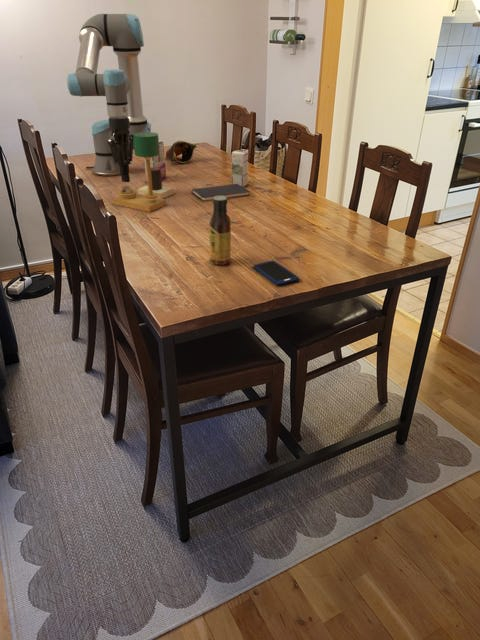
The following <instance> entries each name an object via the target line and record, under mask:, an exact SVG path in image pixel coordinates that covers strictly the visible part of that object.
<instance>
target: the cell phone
mask: <svg viewBox="0 0 480 640" xmlns="http://www.w3.org/2000/svg"><path fill="white" fill-rule="evenodd" d="M252 267H253V269H254V270H256V271H257V272H259V273H260V274H261V275H262V276H264V277H265V278H266V279H268V280H269V281H270V282H272V283H274V284H275V285H276V286H284V285H287V284H291V283H294V282H295V283H296V282H298V281H300V277H299V276H297V275H296V274H295V273H293V272H291V271H290V270H289V269H287V268H286V267H284V266H283V265H281V264H279V263H278V262H277V261H275V260H269V261H264V262H260V263H256V264H253V266H252Z"/></svg>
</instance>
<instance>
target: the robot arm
mask: <svg viewBox="0 0 480 640" xmlns="http://www.w3.org/2000/svg"><path fill="white" fill-rule="evenodd" d="M78 39H79V43H80V45H79V51H78V57H77V62H76V67H75V72H72V73H69V74H67V76H66V84H67V89H68V92H69V94H70V95H71V96H72V97H82V98H83V97H105V100H106V110H107V117H108V119H103V120H99V121H96V122H94V123H93V124H92V125H91V132H92V133H91V135H92V141H93V147H94V154H95V158H94V165H93V166H86V167H85V169H86V170H87V169H89V170H91V169H93V174H94V175H96V176H102V177H113V176H120V177H121V182H122V183H129V182H130V181H131V180H130V165H131V164H132V162H133V159H134V158H133V156H134V155H133V154H134V151H135V150H134V140H133V134H135V133H140V132H152V127H151V126H152V125H151V123H150V122H149V121H148V118H147V117H146V116H145V115H144V108H143V98H142V97H143V95H142V86H141V75H140V65H139V55H140V53H141V52H142V48H143V47H144V46H145V42H144V34H143V30H142V25H141V22H140V19H139V17H138V15H136V14H132V13H98V14H94V15H93V16H91V17H89V18H88V19H87V20H86V21H85V22H84V23H83V24H82V26H81V28H80V31H79V35H78ZM103 47H112V52H113V53H114V54H115V55H116V56H117V63H118V65H117V66H118V69H105V70H104V71H103V73H98V66H99V59H100V52H101V50H102V49H103Z"/></svg>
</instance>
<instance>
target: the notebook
mask: <svg viewBox="0 0 480 640" xmlns="http://www.w3.org/2000/svg"><path fill="white" fill-rule="evenodd" d="M191 193H192V194H193V195H195V196H196V197H197V198H198V199H200V200H201V201H202V202H208V201H213V197H215V196H225V197H227V199H230V198H231V199H232V198H238V197H244V196H245V197H246V196H250V190H249V189H247V188H245V186H244V187H242V186H240V185H239V184H232V183H231V184H223V185H216V186H208V187H200V188H192V189H191Z"/></svg>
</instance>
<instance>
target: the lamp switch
mask: <svg viewBox="0 0 480 640" xmlns="http://www.w3.org/2000/svg"><path fill="white" fill-rule="evenodd" d="M132 190H133V187H132V186H130V185H129V186H122V187H121V191H122V194H131V193H132Z"/></svg>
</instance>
